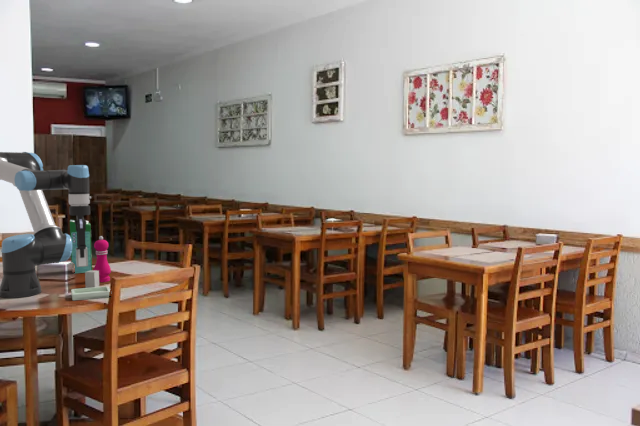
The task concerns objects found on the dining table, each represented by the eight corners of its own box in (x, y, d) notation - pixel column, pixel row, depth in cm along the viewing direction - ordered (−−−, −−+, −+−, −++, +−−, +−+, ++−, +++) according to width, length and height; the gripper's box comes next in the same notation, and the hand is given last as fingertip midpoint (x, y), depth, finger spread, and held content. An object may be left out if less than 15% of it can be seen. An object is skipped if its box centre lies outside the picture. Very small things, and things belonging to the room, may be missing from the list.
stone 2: (85, 288, 247) (85, 272, 247) (90, 286, 251) (89, 270, 251) (94, 288, 247) (94, 272, 246) (99, 286, 251) (98, 270, 250)
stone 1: (88, 266, 231) (87, 248, 230) (77, 267, 229) (76, 249, 229) (87, 264, 234) (86, 247, 234) (76, 265, 233) (75, 247, 232)
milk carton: (92, 272, 284) (90, 220, 282) (71, 273, 280) (69, 220, 278) (92, 269, 292) (90, 218, 290) (72, 270, 289) (70, 219, 287)
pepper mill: (105, 283, 259) (103, 237, 257) (90, 282, 260) (88, 237, 258) (114, 279, 266) (112, 235, 264) (99, 279, 267) (98, 234, 265)
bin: (72, 300, 226) (72, 294, 226) (71, 294, 236) (71, 289, 236) (111, 296, 232) (111, 291, 232) (108, 291, 242) (108, 286, 242)
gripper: (91, 206, 224) (94, 267, 226) (88, 203, 239) (90, 260, 241) (69, 206, 220) (72, 269, 222) (68, 204, 236) (70, 262, 238)
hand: (82, 264), depth 232 cm, fingers closed on stone 1, 4 cm apart
